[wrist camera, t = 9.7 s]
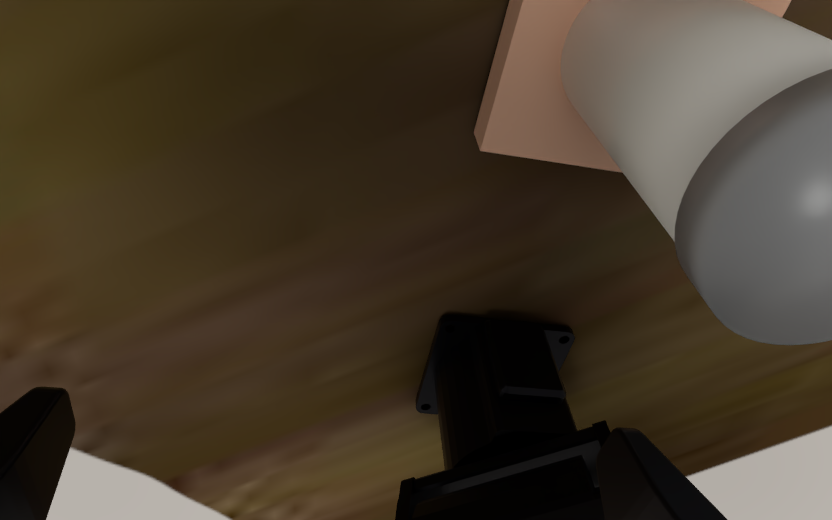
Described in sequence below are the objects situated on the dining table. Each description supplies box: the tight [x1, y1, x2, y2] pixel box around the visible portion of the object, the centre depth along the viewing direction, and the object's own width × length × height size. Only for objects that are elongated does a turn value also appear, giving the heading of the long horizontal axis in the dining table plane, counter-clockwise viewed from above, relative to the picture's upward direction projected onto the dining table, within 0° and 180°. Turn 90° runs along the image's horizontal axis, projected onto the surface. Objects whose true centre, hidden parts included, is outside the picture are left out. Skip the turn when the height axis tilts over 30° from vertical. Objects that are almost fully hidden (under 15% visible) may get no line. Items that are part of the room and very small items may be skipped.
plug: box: [561, 0, 832, 345], centre depth 14 cm, size 5×5×10 cm
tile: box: [474, 0, 791, 173], centre depth 18 cm, size 8×8×2 cm
